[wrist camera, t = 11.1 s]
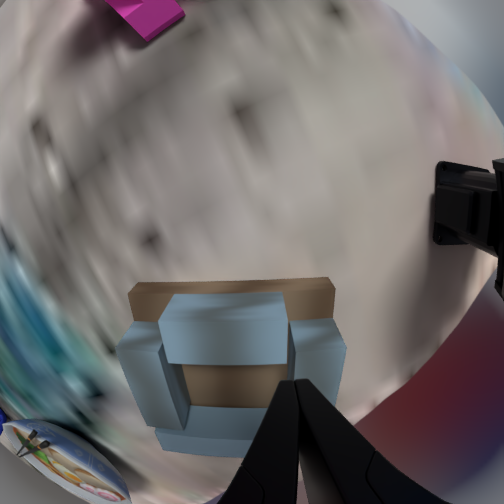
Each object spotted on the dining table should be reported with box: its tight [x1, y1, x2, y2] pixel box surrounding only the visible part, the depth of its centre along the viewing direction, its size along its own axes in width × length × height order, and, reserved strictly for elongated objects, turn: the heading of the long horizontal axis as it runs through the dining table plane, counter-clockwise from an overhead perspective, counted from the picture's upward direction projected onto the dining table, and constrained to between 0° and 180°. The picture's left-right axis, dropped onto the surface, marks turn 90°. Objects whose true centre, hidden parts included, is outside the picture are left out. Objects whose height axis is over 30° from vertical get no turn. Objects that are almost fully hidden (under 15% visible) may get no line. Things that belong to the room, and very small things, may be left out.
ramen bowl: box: [2, 419, 132, 504], centre depth 24 cm, size 25×23×8 cm
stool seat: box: [115, 277, 347, 431], centre depth 19 cm, size 14×14×6 cm
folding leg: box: [155, 405, 267, 458], centre depth 19 cm, size 14×3×4 cm, turn 91°
